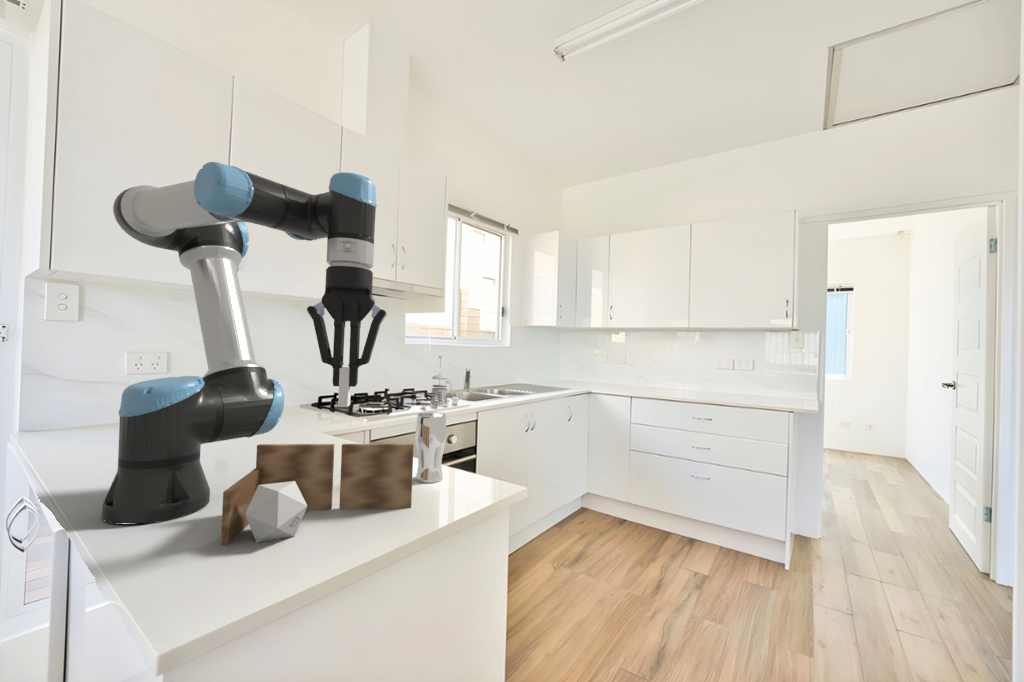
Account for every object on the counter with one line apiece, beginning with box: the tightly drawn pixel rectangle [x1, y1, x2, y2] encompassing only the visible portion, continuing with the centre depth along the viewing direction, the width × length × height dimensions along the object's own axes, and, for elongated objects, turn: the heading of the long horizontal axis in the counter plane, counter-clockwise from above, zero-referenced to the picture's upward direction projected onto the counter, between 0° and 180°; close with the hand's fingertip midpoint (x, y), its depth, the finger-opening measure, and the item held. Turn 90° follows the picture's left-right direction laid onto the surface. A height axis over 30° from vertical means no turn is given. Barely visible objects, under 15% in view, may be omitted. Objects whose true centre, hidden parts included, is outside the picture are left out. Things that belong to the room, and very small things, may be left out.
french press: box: [429, 355, 453, 407], centre depth 225 cm, size 10×12×25 cm
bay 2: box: [338, 442, 415, 511], centre depth 84 cm, size 13×1×12 cm, turn 101°
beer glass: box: [415, 411, 447, 484], centre depth 103 cm, size 7×7×15 cm
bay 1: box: [220, 443, 335, 546], centre depth 75 cm, size 13×14×12 cm
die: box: [245, 481, 307, 544], centre depth 71 cm, size 8×9×10 cm
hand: (344, 405), depth 76 cm, fingers closed
